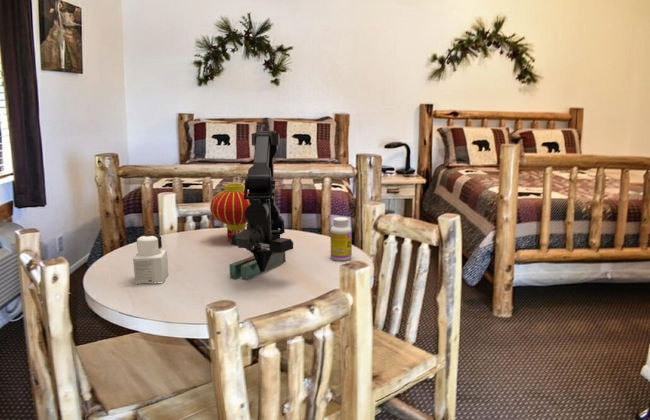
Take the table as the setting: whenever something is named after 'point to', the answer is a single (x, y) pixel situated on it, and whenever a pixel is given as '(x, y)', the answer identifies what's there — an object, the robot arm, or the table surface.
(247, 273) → the bar
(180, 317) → the table surface
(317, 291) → the table surface
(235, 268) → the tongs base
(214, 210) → the lantern
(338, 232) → the supplement bottle
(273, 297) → the table surface
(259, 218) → the robot arm
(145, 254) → the container
